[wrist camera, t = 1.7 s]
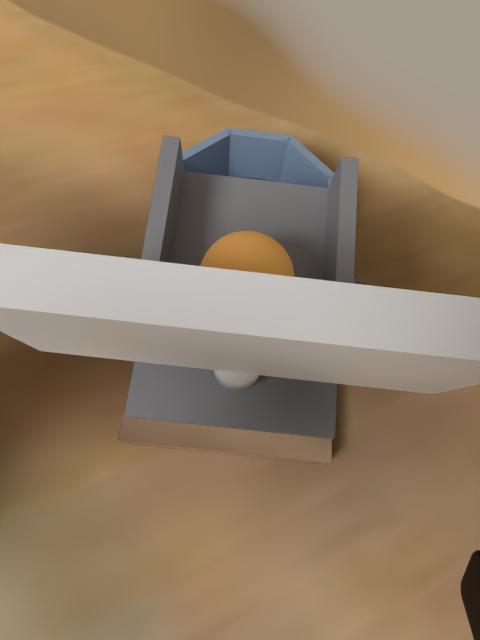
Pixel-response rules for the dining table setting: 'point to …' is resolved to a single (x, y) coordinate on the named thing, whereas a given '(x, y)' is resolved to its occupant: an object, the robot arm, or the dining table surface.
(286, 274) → the ball
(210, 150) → the blue bowl
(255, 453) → the stand
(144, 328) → the tipper
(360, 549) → the dining table surface
